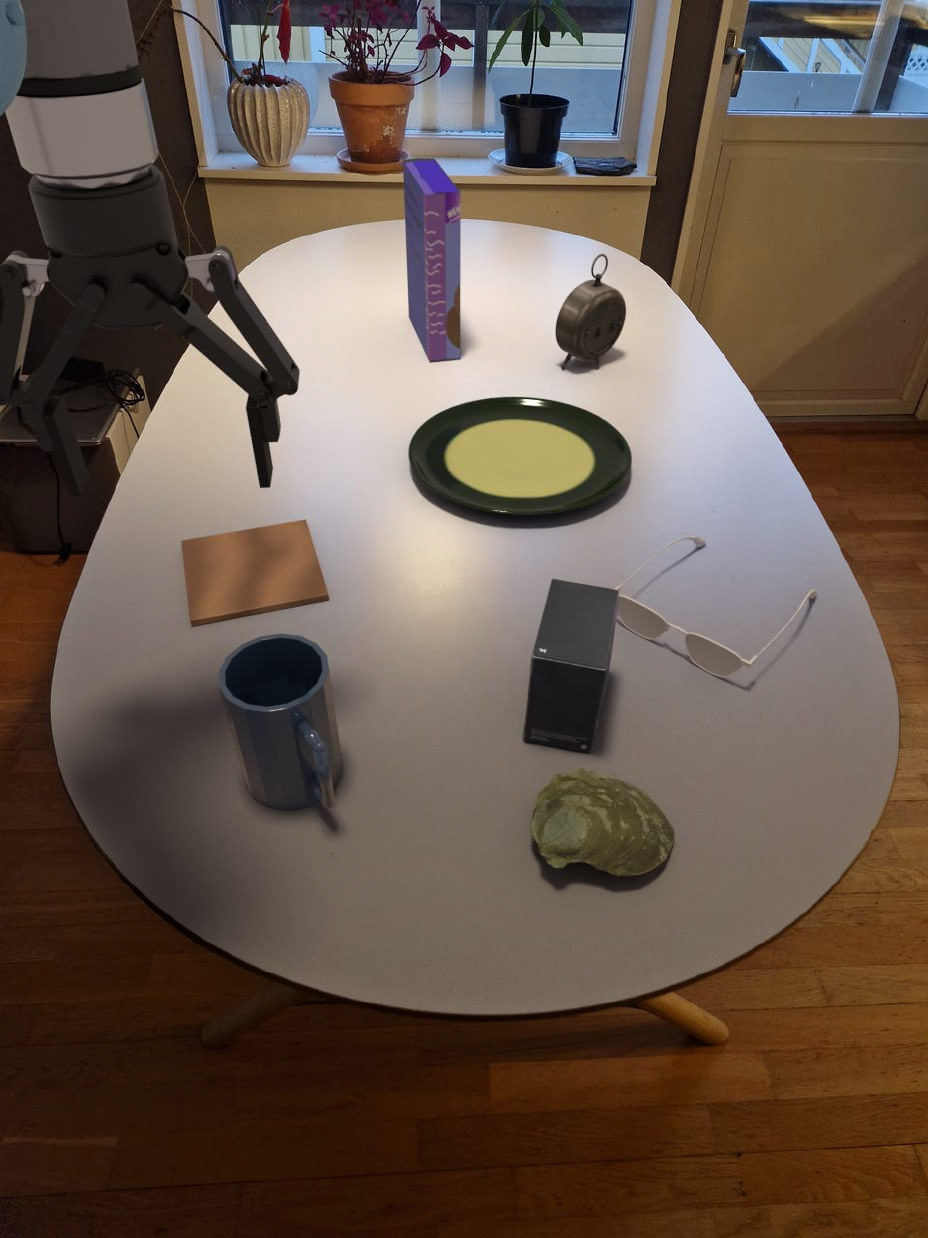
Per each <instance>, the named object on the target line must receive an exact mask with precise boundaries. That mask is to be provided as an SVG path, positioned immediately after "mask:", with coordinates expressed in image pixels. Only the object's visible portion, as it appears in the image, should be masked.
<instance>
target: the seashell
mask: <svg viewBox="0 0 928 1238" xmlns="http://www.w3.org/2000/svg"><path fill="white" fill-rule="evenodd" d="M535 801H536V802H535V805H534V808H533V809H532V815H531V818H530V821H529V830H530V834H531V836H532V838H533V839H534V841H535V843H536V844H537V847H538V852H539V854H540V856H541V857H543V858H545V861H546V862H545V863H547V864H548V865H550V866H551V867H553V868H555V869H560V870H562V869H564V868H565V866H566V865H568V864H571V863H582V864H588V865H590V866H592V867H593V868H595V869H596V870H599V871H604V872H606V873H609V874H610V875H613V876H615V877H625V876H630V877H631V876H639V875H643V874H646V873H648V872H649V873H650V872H651V871H652V870H653V869H655V868H657V867H659V866H660V865H661V864H662V863H663V862H664V861H666V860H667V858H668V856H669V855H670V854H669V853H670V852H671V850H672V847H673V844H674V842H675V837H676V836H675V834H676V832H675V829H674V827H673V826H672V824H671V822H670V821H669V820H668V818H667V816H666V815H665V813H664V812H663V811H662V810H661V808H660V807H659V806H658V805H657V803H656V802H655V801H654V800H653V799H652V798H651V797H650V795H649V793H647V792H645V791H643V790H642V789H640V788H639V787H637V786H636V785H634V784H633V783H631V782H629V781H625V780H623V779H622V778H620V777H618V776H616V775H613V774H607V773H603V772H602V773H601V772H599V771H598V770H595V769H593V770H592V769H585V768H583V767H582V768H581V767H579V768H578V769H577V770H574V771H572V772H570V773H556V774H554V775H553V776H552V778H551V781H550V783H549V784H547V785H546V786H545V787H544V788H543V789H541V790H540V791H539V793H538V795H537V797H536V800H535Z"/></svg>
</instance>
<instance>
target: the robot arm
mask: <svg viewBox="0 0 928 1238" xmlns="http://www.w3.org/2000/svg"><path fill="white" fill-rule="evenodd" d="M138 57H139V56H138V51H137V47H136V41H135V36H134V31H133V25H132V21H131V15H130V10H129V5H128V0H0V117H1V116H3V114H4V113H5V117H6V119H7V122H8V125H9V129H10V132H11V136H12V139H13V142H14V143H13V144H14V146H15V149H16V153H17V156H18V160H19V163H20V166H21V168H23V169H24V170H25V171H26V172H28V173H29V174H31V175H32V177H31V178H30V181H29V182H28V186H27V188H28V189H27V190H28V191H29V195H30V198H31V201H32V205H33V208H34V211H35V213H36V214H35V215H36V217H37V218H36V219H37V221H38V225H39V227H40V230H41V234H42V237H43V241H44V244H45V245H46V249H47V251H48V259H42V258H30V257H29V255H28V254H27V253H25V251H23V250H20V249H19V250H14V251H12V252H11V253H10V254H9V255H8V256H7V258H6V259H5V260H4V261H3V262H2V263H1V265H0V286H1V291H2V296H3V300H4V302H3V307H2V314H1V321H0V407H3V406H6V405H11V406H15V407H19V408H20V409H21V410H23V411H24V412H25V413H26V415H27V417H28V420H29V423H30V426H31V429H32V431H33V434H34V437H35V440H36V443H37V445H38V446H39V448H40V449H41V450H42V451H43V452H44V453H45V452H54V455H55V458H56V461H57V464H58V467H59V470H60V473H61V476H62V478H63V481H64V483H65V486H66V490H67V492H68V495H69V497H81V496H82V494H83V491H84V489H85V487H86V485H87V481H88V480H89V477H90V473H89V471H88V468H87V465H86V462H85V458H84V456H83V452H82V450H81V446H80V444H79V440H78V438H77V435H76V432H75V429H74V426H73V425H74V424H73V423H72V422H73V421H72V419H71V416H70V413H69V410H68V407H67V404H66V401H65V399H64V395H52V396H51V397H49V394H50V393H51V391H52V389H53V387H54V386H55V384H56V383H57V381H58V379H59V378H60V376H61V374H62V372H63V371H64V369H65V367H66V365H67V364H68V362H69V361H70V359H71V357H72V355H73V354H74V352H75V350H76V349H77V347H78V345H79V343H80V342H81V340H82V338H83V337H84V334H85V333H86V332H87V330H88V328H89V327H90V325H91V323H92V324H93V325H94V326H97V327H98V328H101V329H103V330H105V333H121V332H124V331H126V330H135V331H140V332H156V331H157V329H158V328H160V327H162V326H165V327H166V328H167V329H168V330H169V331H170V332H171V333H173V334H174V335H175V336H176V337H177V338H179V339H183V340H186V341H187V342H188V343H189V344H190V345H191V346H192V347H194V348H195V349H196V350H197V351H198V352H199V353H200V354H202V356H204V357H205V358H206V359H207V360H209V362H211V364H213V365H214V366H215V367H216V368H218V369H219V370H220V371H221V372H222V373H223V374H224V375H226V376H227V377H228V378H229V379H230V380H231V381H233V382H234V384H236V385H237V386H238V387H239V388H240V389H242V390H243V391H244V392H245V393H246V394H248V395H247V399H246V404H245V411H246V417H247V423H248V428H249V435H250V440H251V445H252V446H251V447H252V451H253V457H254V462H255V468H256V474H257V478H258V485H259V489H268V488H269V489H270V488H271V485H272V478H273V472H274V471H273V470H274V465H273V459H272V452H271V447H270V443H278V442H279V439H280V436H281V429H282V422H281V418H280V417H281V416H280V410H279V403H278V399H279V398H280V397H282V396H285V395H286V396H293V395H295V394H297V392H298V390H299V383H300V375H301V370H300V368H299V366H298V365H297V363H296V362H295V360H294V359H293V357H292V356H291V354H290V353H289V352H288V350H287V348H286V347H285V346H284V344H283V342H282V341H281V339H280V338H279V336H278V335H277V333H276V332H275V331H274V329H273V328H272V326H271V324H270V323H269V322H268V320H267V319H266V317H265V316H264V314H263V313H262V312H261V310H260V309H259V307H258V306H257V304H256V303H255V301H254V299H253V298H252V297H251V295H250V294H249V292H248V290H247V289H246V288H245V287H244V285H243V283H242V282H241V280H240V277H239V274H238V270H237V267H236V263H235V259H234V257H233V253H232V251H231V250H230V249H229V247H227V246H225V245H218V246H215V247H214V249H213V251H212V252H209V253H204V254H197V255H190V256H187V255H186V254H185V253H184V251H183V250H182V248H181V246H180V244H179V242H178V238H177V234H176V230H175V225H174V224H175V223H174V219H173V214H172V209H171V204H170V201H169V195H168V191H167V185H166V181H165V180H166V179H165V176H164V175H165V174H164V173H163V172H162V171H161V170H159V168H158V167H157V166H156V165H154V164H153V163H154V162H155V161H156V159H157V158H158V157H159V155H160V153H159V147H158V142H157V137H156V132H155V127H154V123H153V118H152V114H151V108H150V104H149V99H148V93H147V90H146V85H145V79H144V78H143V73H142V69H141V65H140V61H139V58H138ZM192 278H193V279H196V280H198V281H199V282H200V283H201V285H202V286H203V288H204V289H205V290H206V291H208V292H211V293H215V295H216V298H217V300H218V302H219V304H220V306H221V307H222V309H223V310H224V312H225V313H226V314H227V316H228V318H229V319H230V321H231V322H232V323H233V325H234V326H235V327H236V329H237V330H238V332H239V333H240V334H241V336H242V337H243V339H244V340H245V342H246V343H247V345H248V346H249V347H250V349H251V350H252V351H253V353H254V354H255V356H256V358H258V360H259V361H260V362H259V361H257V360H256V359H255V358H254V357H252V355H250V354H249V353H248V352H247V351H246V350H245V349H244V348H242V346H241V345H239V344H238V343H237V342H236V341H235V340H234V339H233V338H232V337H230V336H229V335H228V333H226V332H225V331H224V330H222V328H220V326H219V325H218V324H216V323H215V322H214V321H213V320H212V319H211V318H209V317H208V315H206V314H205V312H203V311H202V308H201V307H200V305H199V304H198V302H196V301H195V300H194V299H193V298H192V297H191V296H190V295H189V294H187V293H186V292H185V291H184V290H185V289H186V286H187V284H188V282H189V279H192ZM48 282H49V283H50V284H51V286H52V287H53V288H54V289H55V290H56V291H57V292H58V293H60V294H61V295H62V296H63V298H65V299H66V300H67V301H68V302H69V303H70V304H71V305H72V306H73V308H72V309H71V312H70V314H69V315H68V317H67V318H66V321H65V323H64V324H63V325H62V327H61V329H60V331H59V332H58V334H57V337H56V338H55V340H54V342H53V343H52V345H51V347H50V348H49V351H48V352H47V354H46V356H45V357H44V359H43V361H42V363H41V365H40V367H39V368H38V370H37V371H36V373H35V375H34V376H33V378H32V380H31V382H30V381H26V380H22V379H21V377H22V371H23V366H24V362H25V355H26V350H27V345H28V341H29V340H28V339H29V334H30V329H31V325H32V318H33V313H34V308H35V304H36V297H38V296H39V295H40V294H41V292H42V291H43V289H44V288H45V283H48Z"/></svg>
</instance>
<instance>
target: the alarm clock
mask: <svg viewBox="0 0 928 1238" xmlns="http://www.w3.org/2000/svg"><path fill="white" fill-rule="evenodd" d="M601 257H603V258H604V260H605V267H604V269H603V271H602V273H596V274H595V273H594V268H595V264H596V262H597V261H598V260H599V259H600V258H601ZM608 265H609V259H608V256H607V255H606V254H605V253H600V254H598V255H597V256H596V257H595V258H594V259H593V262H592V265H591V268H590V273H591V276H592V278H593V279H588V280H585V281H584V282H582V283H580V284H579V285H577V286H576V287H575V288H573V290H572V291H570V293H569V294H568V295H567V296H566V298H565V300H564V302H563V303H562V305H561V308H560V309H559V312H558V315H557V319H556V323H555V340H556V344H557V346H558V347H559V349H561V350H562V351H563V352H564V353H567V354H566V357H565V359H564V361H563V364H562V365H560V366H561V367H560V368H561V369H562V370H564V369H565V368H566V366H567V364H568V363H569V362H570V361H571V359H572V358H576V359H577V360H579V361H581V362H593V361H594V365H595V368H596V369H598V370H599V369H600V358H601V357H603V356H604V355H606V354H607V353H608V352H609V351H610V350H611V349H612V347H613V346H614V345H615V344H616V343H617V341H618V339H619V337H620V336H621V335H622V331H623V329H624V326H625V322H626V319H627V318H626V316H627V305H626V300H625V298H624V296H623V294H622V293H621V291H619V290H618V289H617V288H614V287H613V286H611V285H608V284H607V283H604V282H603V281H602V278H603V276H604V275H605V273H606V271H607V270H608Z"/></svg>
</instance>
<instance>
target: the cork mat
mask: <svg viewBox="0 0 928 1238" xmlns="http://www.w3.org/2000/svg"><path fill="white" fill-rule="evenodd" d="M180 543H181V544H180V545H181V553H182V554H181V555H182V561H183V570H184V579H185V588H186V597H187V607H188V615H189V623H190V626H191V627H196V626H202V625H207V624H212V623H217V622H222V621H227V620H232V619H238V618H243V617H249V616H253V615H258V614H264V613H269V612H274V611H280V610H285V609H289V608H295V607H300V606H304V605H310V604H316V603H320V602H326V601H330V597H329V596H330V595H329V591H328V588H327V584H326V582H325V578H324V575H323V572H322V568H321V564H320V562H319V558H318V555H317V551H316V547H315V545H314V541H313V539H312V534H311V532H310V528H309V525H308V522H307V519H306V518H305V519H300V520H294V521H287V522H282V523H276V524H271V525H264V526H260V527H259V526H258V527H251V528H246V529H240V530H235V531H229V532H223V533H217V534H212V535H206V536H200V537H195V538H187V539H181V540H180Z"/></svg>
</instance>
